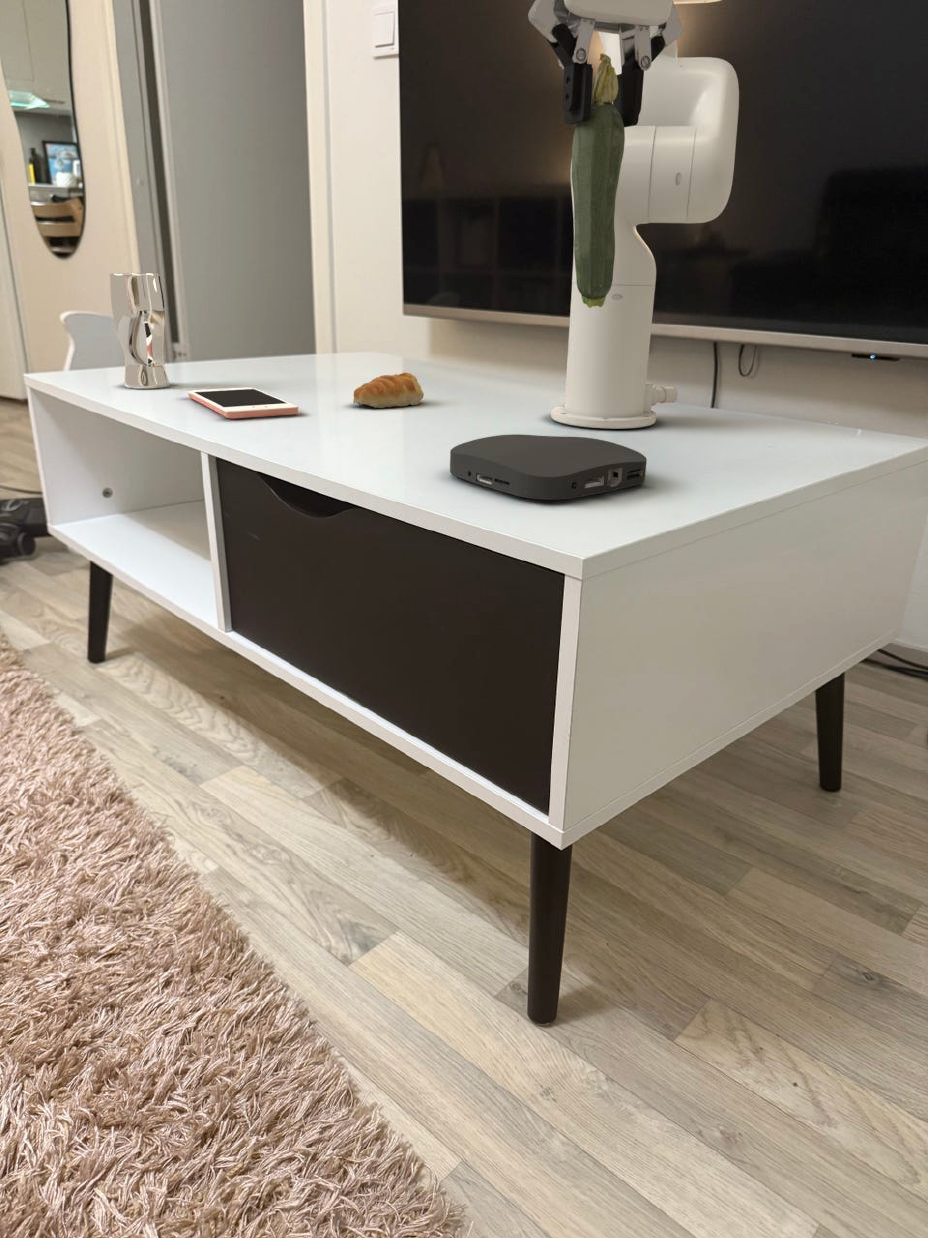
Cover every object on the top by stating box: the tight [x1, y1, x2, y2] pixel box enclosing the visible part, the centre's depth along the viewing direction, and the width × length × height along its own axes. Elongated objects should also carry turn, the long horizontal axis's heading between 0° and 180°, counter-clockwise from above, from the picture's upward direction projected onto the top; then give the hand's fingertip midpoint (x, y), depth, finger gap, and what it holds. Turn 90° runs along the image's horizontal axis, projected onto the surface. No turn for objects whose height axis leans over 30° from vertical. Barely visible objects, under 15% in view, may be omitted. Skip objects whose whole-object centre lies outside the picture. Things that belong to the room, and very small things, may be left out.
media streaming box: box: [449, 434, 648, 501], centre depth 80 cm, size 15×15×3 cm
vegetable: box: [571, 52, 625, 308], centre depth 78 cm, size 4×4×20 cm
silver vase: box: [109, 272, 170, 390], centre depth 126 cm, size 7×7×15 cm
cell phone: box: [187, 386, 299, 419], centre depth 114 cm, size 9×18×1 cm, turn 30°
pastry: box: [352, 372, 425, 409], centre depth 117 cm, size 9×7×4 cm
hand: (600, 121), depth 76 cm, fingers closed on vegetable, 4 cm apart
